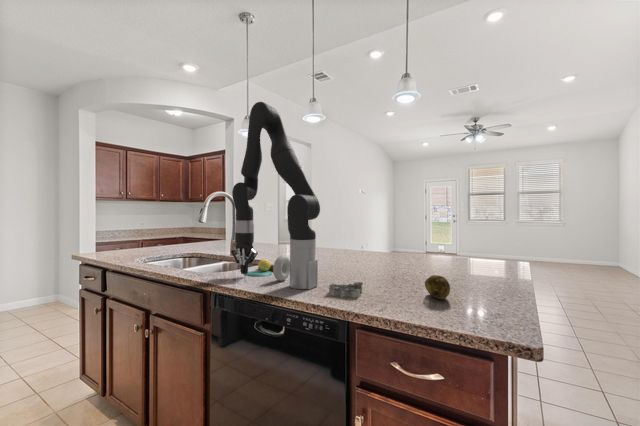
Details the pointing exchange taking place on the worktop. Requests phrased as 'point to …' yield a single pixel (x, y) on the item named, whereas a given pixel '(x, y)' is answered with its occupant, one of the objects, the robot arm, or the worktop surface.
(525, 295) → the worktop surface
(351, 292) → the egg carton
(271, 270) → the stopper strip
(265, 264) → the ball
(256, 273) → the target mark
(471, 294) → the worktop surface
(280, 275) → the donut
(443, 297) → the dark green oval lump
